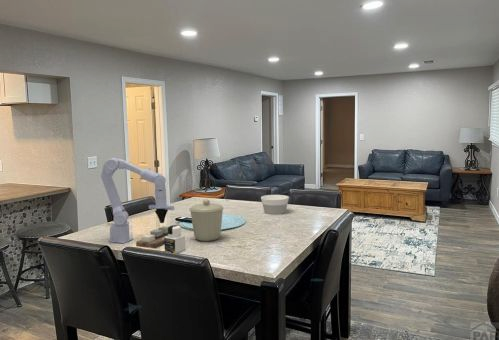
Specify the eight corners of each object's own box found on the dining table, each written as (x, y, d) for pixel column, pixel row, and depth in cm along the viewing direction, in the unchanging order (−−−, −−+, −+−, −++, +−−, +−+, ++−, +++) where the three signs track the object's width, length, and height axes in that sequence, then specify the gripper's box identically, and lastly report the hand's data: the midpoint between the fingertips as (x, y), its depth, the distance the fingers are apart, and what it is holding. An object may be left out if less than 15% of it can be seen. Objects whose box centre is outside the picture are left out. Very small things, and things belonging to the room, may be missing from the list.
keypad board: (136, 245, 195) (136, 241, 195) (162, 234, 215) (162, 230, 215) (156, 248, 190) (155, 243, 190) (180, 236, 211) (180, 232, 210)
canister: (207, 232, 218) (206, 195, 216) (231, 237, 207) (230, 198, 204) (183, 239, 204) (181, 200, 202) (207, 245, 193) (205, 204, 191)
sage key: (158, 232, 208) (158, 228, 208) (163, 230, 213) (163, 226, 212) (165, 233, 207) (165, 228, 206) (170, 231, 211) (170, 226, 211)
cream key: (141, 241, 196) (141, 236, 195) (147, 238, 200) (147, 234, 200) (149, 242, 194) (149, 237, 194) (154, 239, 198) (154, 235, 198)
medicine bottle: (164, 251, 185) (163, 226, 184) (175, 247, 191) (174, 223, 190) (175, 253, 181) (174, 228, 180) (185, 249, 187) (184, 225, 186)
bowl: (290, 215, 257) (290, 199, 256) (261, 215, 257) (260, 199, 256) (288, 209, 276) (287, 194, 275) (261, 209, 276) (260, 194, 275)
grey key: (150, 236, 202) (150, 231, 202) (155, 233, 206) (155, 229, 206) (157, 236, 200) (157, 232, 200) (162, 234, 204) (162, 230, 204)
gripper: (144, 198, 205) (146, 223, 206) (168, 199, 199) (169, 225, 201) (152, 196, 211) (153, 220, 213) (175, 197, 206) (176, 222, 207)
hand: (162, 222), depth 207 cm, fingers closed
